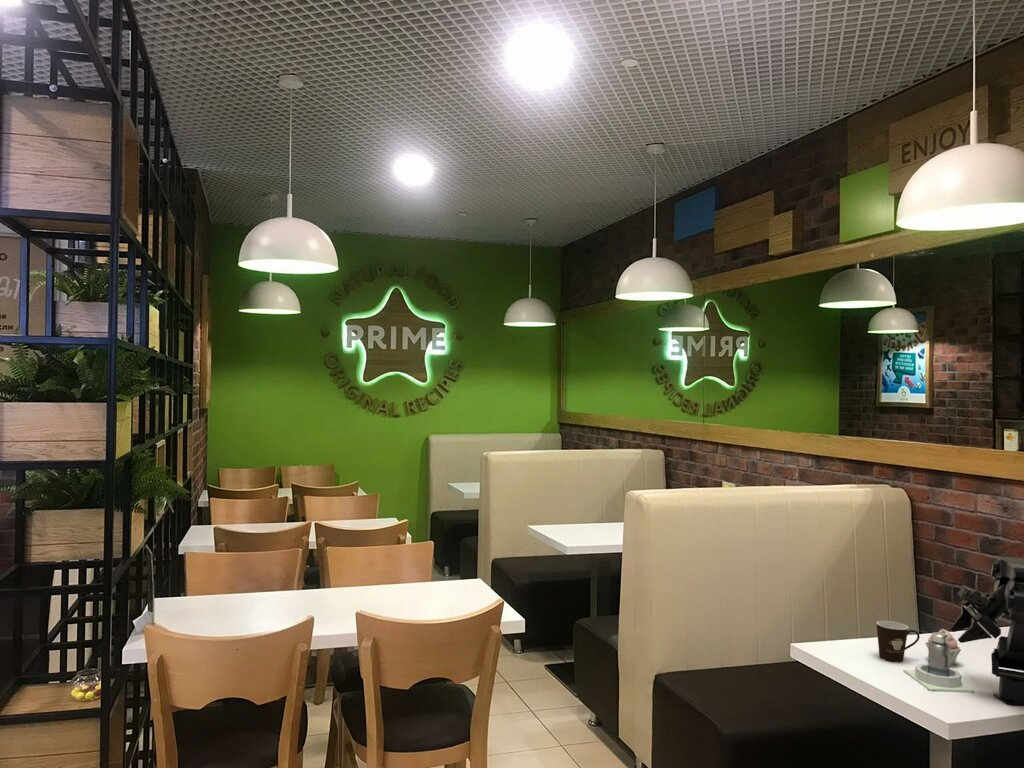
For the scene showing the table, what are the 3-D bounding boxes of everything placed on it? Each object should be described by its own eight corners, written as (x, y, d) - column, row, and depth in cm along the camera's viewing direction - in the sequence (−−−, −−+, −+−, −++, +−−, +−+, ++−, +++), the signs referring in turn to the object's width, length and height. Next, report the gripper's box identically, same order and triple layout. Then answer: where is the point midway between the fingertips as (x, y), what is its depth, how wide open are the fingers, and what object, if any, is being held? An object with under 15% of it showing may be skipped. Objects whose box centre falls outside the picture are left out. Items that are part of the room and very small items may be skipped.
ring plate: (974, 692, 207) (974, 681, 207) (929, 690, 207) (929, 679, 207) (945, 672, 221) (945, 662, 221) (903, 671, 221) (903, 660, 221)
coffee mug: (874, 660, 230) (875, 626, 230) (876, 651, 237) (877, 619, 237) (918, 667, 224) (919, 633, 224) (918, 659, 232) (919, 625, 232)
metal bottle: (953, 683, 211) (954, 637, 211) (933, 683, 211) (935, 637, 211) (942, 676, 216) (944, 631, 216) (923, 675, 216) (925, 631, 216)
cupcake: (917, 658, 232) (918, 625, 232) (939, 655, 236) (940, 622, 236) (946, 669, 224) (947, 635, 224) (967, 665, 227) (968, 631, 227)
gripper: (970, 569, 220) (926, 603, 224) (988, 586, 202) (939, 623, 206) (1001, 599, 218) (956, 633, 221) (1022, 619, 200) (972, 656, 204)
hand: (955, 635), depth 213 cm, fingers open, 9 cm apart
